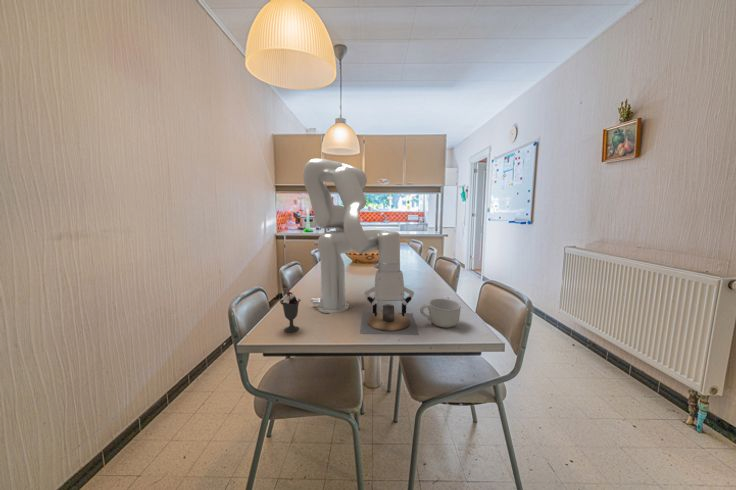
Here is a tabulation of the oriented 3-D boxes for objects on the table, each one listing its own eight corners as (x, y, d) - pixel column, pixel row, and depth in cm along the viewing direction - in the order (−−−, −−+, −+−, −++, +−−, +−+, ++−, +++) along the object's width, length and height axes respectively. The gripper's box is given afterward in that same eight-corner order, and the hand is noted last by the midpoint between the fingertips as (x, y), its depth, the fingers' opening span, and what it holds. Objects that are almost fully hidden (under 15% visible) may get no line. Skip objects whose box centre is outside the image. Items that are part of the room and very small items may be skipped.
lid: (366, 331, 95) (366, 313, 94) (368, 314, 110) (368, 299, 109) (412, 331, 94) (412, 314, 93) (407, 315, 109) (407, 299, 108)
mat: (359, 335, 93) (359, 333, 93) (363, 313, 112) (363, 312, 112) (418, 336, 92) (419, 334, 92) (412, 314, 111) (412, 313, 111)
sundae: (284, 325, 101) (283, 283, 99) (303, 325, 100) (302, 283, 98) (278, 333, 94) (276, 289, 92) (298, 333, 94) (297, 289, 92)
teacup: (456, 319, 106) (457, 298, 105) (463, 332, 95) (464, 308, 94) (418, 318, 107) (418, 297, 106) (420, 330, 97) (421, 307, 96)
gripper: (363, 269, 96) (364, 318, 98) (415, 269, 95) (415, 319, 97) (364, 265, 103) (365, 311, 105) (413, 265, 103) (412, 311, 105)
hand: (389, 314), depth 101 cm, fingers open, 9 cm apart
